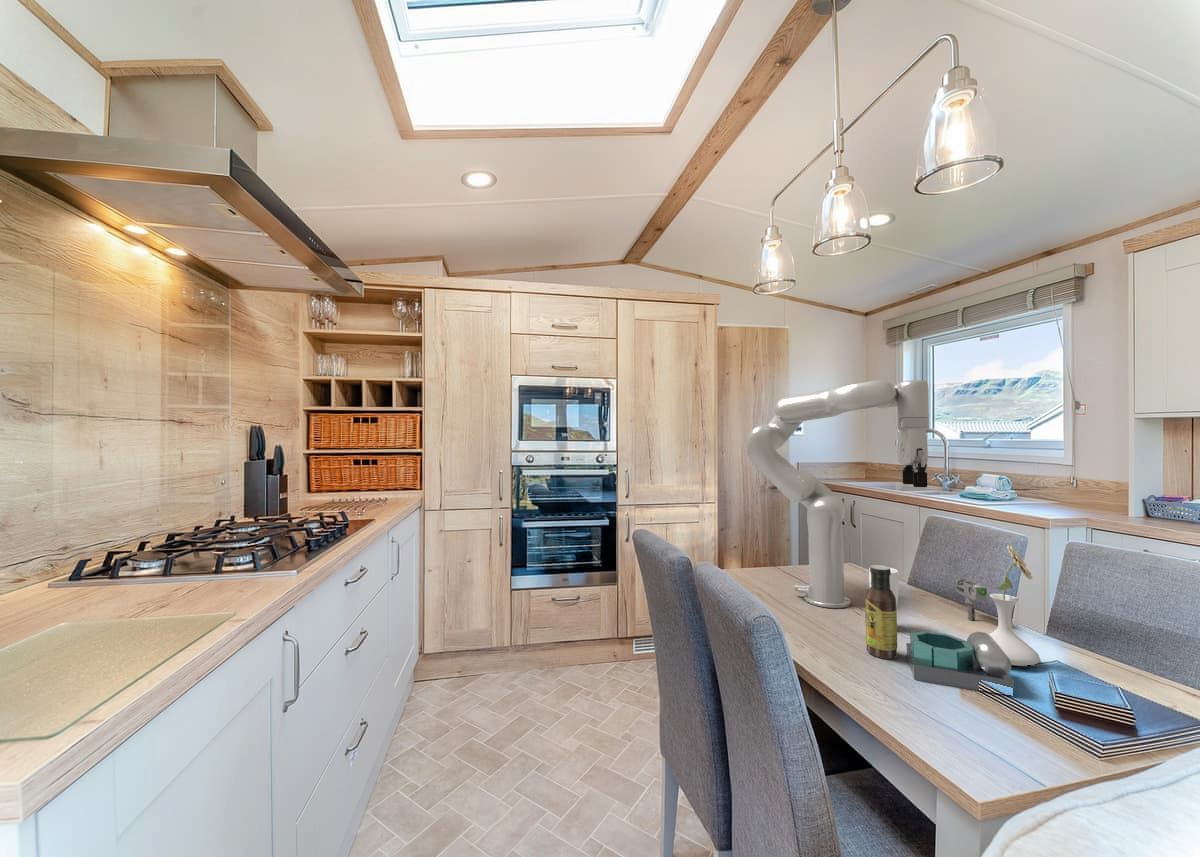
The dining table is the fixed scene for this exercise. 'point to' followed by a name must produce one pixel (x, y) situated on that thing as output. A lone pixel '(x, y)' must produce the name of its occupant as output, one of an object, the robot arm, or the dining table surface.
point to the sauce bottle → (881, 615)
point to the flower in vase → (1004, 634)
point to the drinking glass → (891, 583)
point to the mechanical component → (971, 594)
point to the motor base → (954, 675)
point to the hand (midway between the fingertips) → (914, 485)
